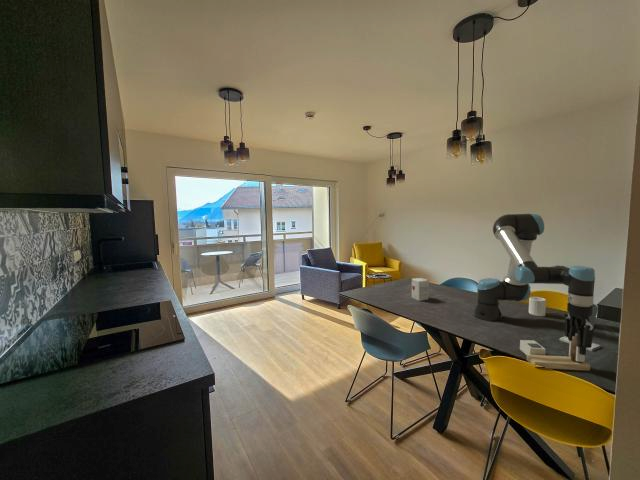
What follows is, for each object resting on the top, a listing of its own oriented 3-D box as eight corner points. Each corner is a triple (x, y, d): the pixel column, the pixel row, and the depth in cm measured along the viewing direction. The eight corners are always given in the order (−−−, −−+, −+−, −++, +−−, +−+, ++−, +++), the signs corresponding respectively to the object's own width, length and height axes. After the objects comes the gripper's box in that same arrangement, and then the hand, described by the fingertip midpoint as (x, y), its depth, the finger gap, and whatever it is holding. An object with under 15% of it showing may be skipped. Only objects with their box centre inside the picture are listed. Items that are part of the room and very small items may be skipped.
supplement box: (411, 297, 210) (411, 278, 208) (420, 296, 212) (421, 277, 211) (418, 301, 201) (418, 281, 199) (428, 299, 204) (429, 280, 202)
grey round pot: (578, 319, 159) (579, 300, 158) (601, 326, 150) (602, 305, 149) (567, 322, 156) (569, 302, 155) (590, 329, 146) (592, 308, 145)
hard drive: (600, 345, 128) (568, 334, 139) (591, 349, 125) (559, 337, 136) (600, 348, 128) (568, 337, 139) (591, 352, 125) (559, 341, 136)
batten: (526, 359, 119) (526, 354, 119) (578, 362, 116) (578, 357, 116) (534, 367, 113) (535, 361, 113) (589, 370, 110) (590, 364, 110)
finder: (519, 349, 128) (520, 339, 128) (533, 349, 127) (534, 339, 127) (529, 357, 120) (530, 347, 120) (545, 358, 119) (545, 348, 119)
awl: (568, 358, 115) (570, 332, 114) (577, 358, 115) (579, 332, 113) (574, 362, 112) (576, 335, 111) (584, 363, 111) (586, 336, 110)
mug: (551, 313, 170) (552, 298, 169) (540, 317, 165) (541, 301, 164) (537, 309, 177) (537, 295, 176) (525, 312, 172) (526, 297, 171)
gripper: (555, 297, 120) (553, 348, 122) (585, 310, 104) (581, 369, 106) (575, 298, 118) (572, 349, 120) (607, 311, 102) (603, 370, 105)
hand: (576, 358), depth 113 cm, fingers closed on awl, 3 cm apart
